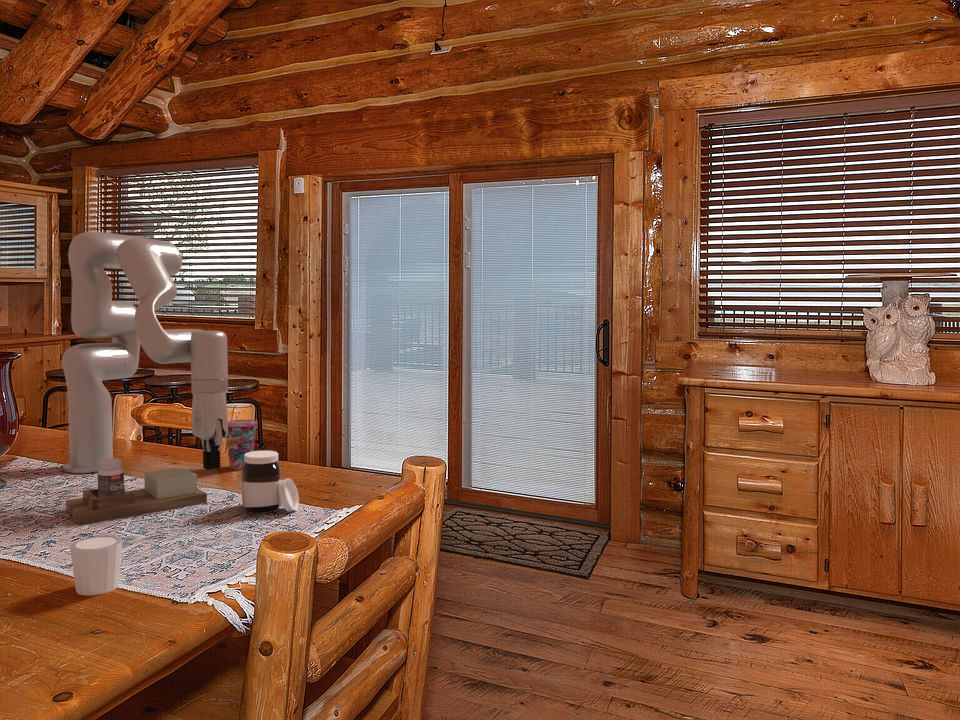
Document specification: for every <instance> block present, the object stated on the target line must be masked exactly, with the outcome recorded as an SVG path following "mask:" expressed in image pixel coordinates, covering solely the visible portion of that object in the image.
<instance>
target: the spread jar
mask: <svg viewBox="0 0 960 720" xmlns="http://www.w3.org/2000/svg"><path fill="white" fill-rule="evenodd" d="M244 462H245V464H244V466H243V469H242V470H241V501H242V503H241V504H242V509H243V511H244V510H245V511H244V512H246V511H247V512H246V513H249V512H252V513H251V514H265V512H268V513H271V512H270V511H272V512H274V510H275V511H276V510H278V509H280V507H281V505H282V506H283V508H284V510H285V511H287V512H288V513H290V512H291V513H292V512H294V511H297V510H298V509H299V506H300V497H299V496H300V495H299V492H298V488H297V486H296V484H295V482H294V481H293V479H291V478H290V477H288V478H284V479H282V478H281V477H282V476H281V475H282V474H281V466H280V463H279V453H278V452H277V451H275V450H253V452H248V453H246V454H244ZM281 479H282V480H281Z"/></svg>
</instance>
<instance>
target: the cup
mask: <svg viewBox="0 0 960 720" xmlns="http://www.w3.org/2000/svg"><path fill="white" fill-rule="evenodd" d="M258 423H259V422H258V421H257V420H253V419H233V420H228V435H227V436H226V437H225V438H226V439H225V440H226V442H225V443H226V448H227V455H228V461H229V467H230V470H232V469H233V471H242V469H243V466H244V464H245V462H244V454H246V453H248V452H253V451H255V440H256V433H257V424H258Z"/></svg>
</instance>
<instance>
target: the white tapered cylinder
mask: <svg viewBox="0 0 960 720" xmlns="http://www.w3.org/2000/svg"><path fill="white" fill-rule="evenodd" d="M122 548H123V538H121V537H120V536H116V535H106V534H104V535H97V536H90V537H85V538H82V539H79V540H76V541H75V542H73V543H71V545H70V546H69V551H70V556H71V557H70V558H71V565H72V573H73V580H74V586H75V591H76V594H78V595H81V596H97V595H98V596H99V595H102V594H103V595H104V594H107V593H110V592H112V591H115V590H116V589H118V587H119V584H120V573H121V561H122V552H123V551H122V550H123V549H122Z"/></svg>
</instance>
